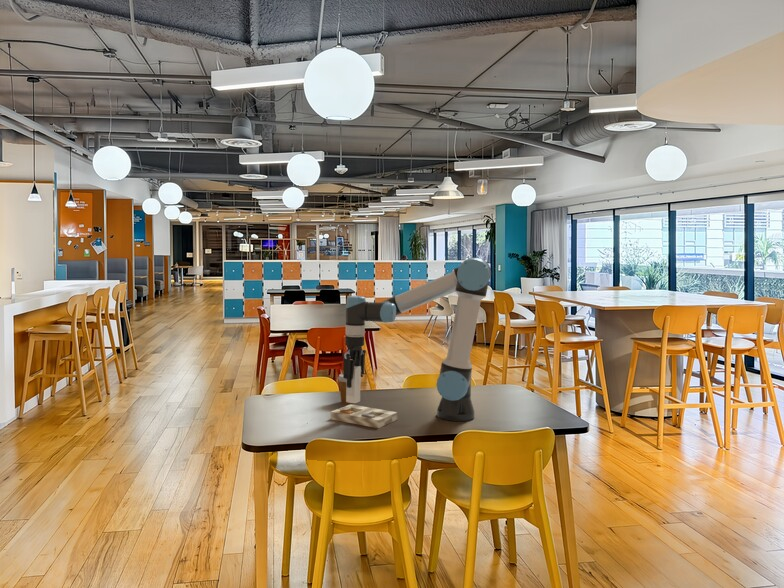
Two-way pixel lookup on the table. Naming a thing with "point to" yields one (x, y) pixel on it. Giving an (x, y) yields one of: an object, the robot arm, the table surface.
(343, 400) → the disposable coffee cup
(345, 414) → the socket plate
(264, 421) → the table surface
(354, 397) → the plug
